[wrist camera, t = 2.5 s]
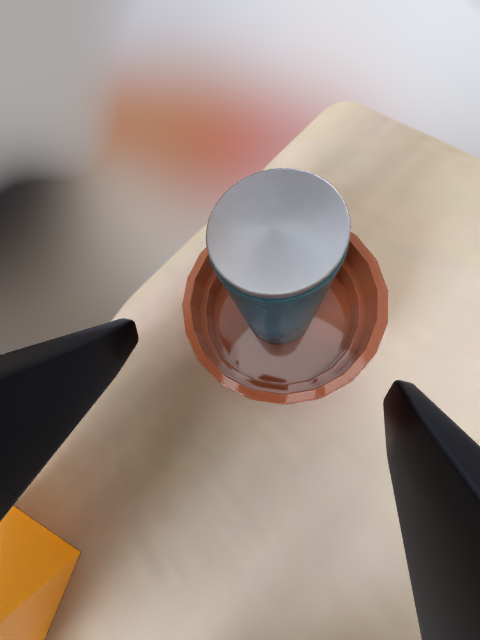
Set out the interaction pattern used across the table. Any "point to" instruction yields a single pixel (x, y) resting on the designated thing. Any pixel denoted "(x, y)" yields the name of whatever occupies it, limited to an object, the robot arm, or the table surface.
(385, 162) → the table surface
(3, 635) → the orange juice
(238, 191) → the can
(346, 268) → the pot
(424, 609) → the robot arm
